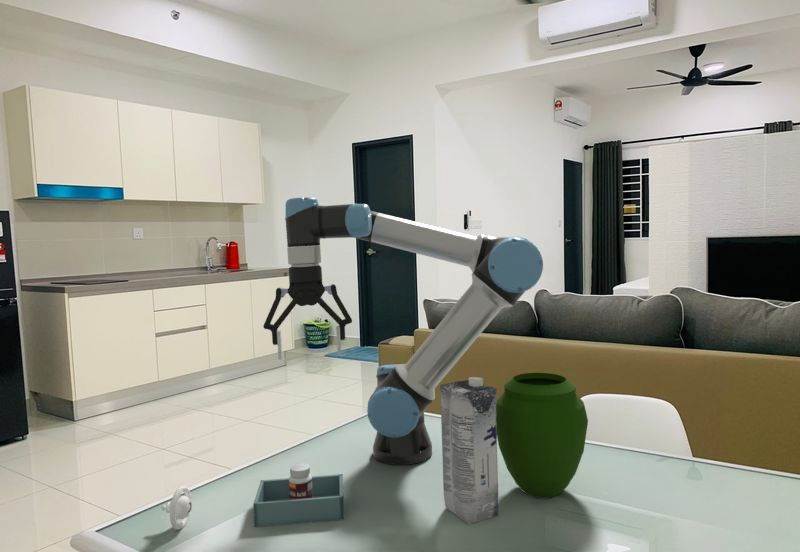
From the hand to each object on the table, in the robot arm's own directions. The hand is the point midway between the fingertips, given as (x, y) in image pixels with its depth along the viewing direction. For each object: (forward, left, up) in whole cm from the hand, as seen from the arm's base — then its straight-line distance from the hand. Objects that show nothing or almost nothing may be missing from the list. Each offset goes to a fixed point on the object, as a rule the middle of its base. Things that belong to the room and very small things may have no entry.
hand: (310, 356), depth 137 cm
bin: (+2, +18, -28) cm, 33 cm away
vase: (-49, +18, -29) cm, 59 cm away
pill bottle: (+2, +18, -28) cm, 33 cm away
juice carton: (-32, +25, -29) cm, 49 cm away
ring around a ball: (+26, +21, -29) cm, 44 cm away
